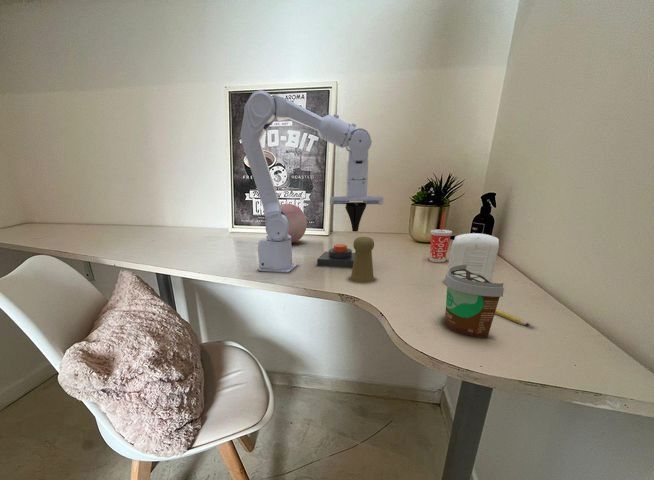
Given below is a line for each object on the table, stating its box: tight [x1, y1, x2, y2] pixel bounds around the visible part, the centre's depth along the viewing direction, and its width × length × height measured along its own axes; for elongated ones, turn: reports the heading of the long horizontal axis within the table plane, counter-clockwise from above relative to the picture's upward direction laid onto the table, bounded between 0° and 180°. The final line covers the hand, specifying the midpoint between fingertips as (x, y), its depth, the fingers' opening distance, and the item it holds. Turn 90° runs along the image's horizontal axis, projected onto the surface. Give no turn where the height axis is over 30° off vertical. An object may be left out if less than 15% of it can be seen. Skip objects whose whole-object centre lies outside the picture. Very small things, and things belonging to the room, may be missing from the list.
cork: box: [350, 236, 375, 283], centre depth 86 cm, size 6×6×11 cm
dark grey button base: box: [316, 247, 355, 269], centre depth 103 cm, size 12×10×4 cm
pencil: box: [494, 308, 531, 326], centre depth 66 cm, size 1×14×1 cm, turn 24°
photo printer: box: [446, 232, 500, 283], centre depth 80 cm, size 10×4×12 cm, turn 72°
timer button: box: [333, 243, 348, 252], centre depth 102 cm, size 4×4×2 cm
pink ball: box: [280, 203, 308, 244], centre depth 129 cm, size 15×15×15 cm
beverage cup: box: [429, 213, 453, 263], centre depth 101 cm, size 6×6×14 cm
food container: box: [443, 265, 505, 338], centre depth 59 cm, size 12×6×10 cm, turn 5°
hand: (355, 230), depth 95 cm, fingers closed
